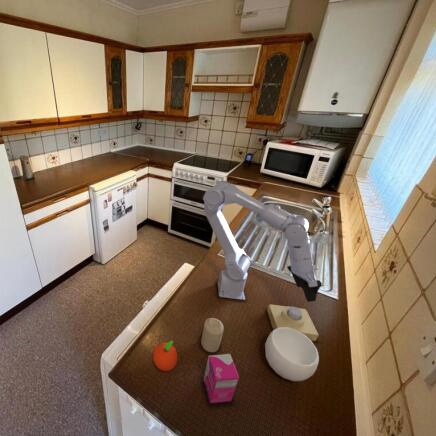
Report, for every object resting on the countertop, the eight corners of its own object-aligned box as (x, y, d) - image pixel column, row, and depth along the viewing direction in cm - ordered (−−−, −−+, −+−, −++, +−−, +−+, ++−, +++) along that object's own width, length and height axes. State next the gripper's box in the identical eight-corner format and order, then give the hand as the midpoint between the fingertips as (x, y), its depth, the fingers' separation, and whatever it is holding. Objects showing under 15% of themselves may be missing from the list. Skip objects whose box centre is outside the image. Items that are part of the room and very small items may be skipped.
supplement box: (202, 379, 65) (208, 354, 59) (223, 377, 65) (231, 352, 60) (209, 404, 60) (216, 379, 54) (231, 402, 60) (241, 377, 54)
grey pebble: (289, 319, 77) (291, 314, 76) (286, 310, 80) (287, 305, 79) (301, 320, 76) (303, 316, 75) (297, 311, 79) (299, 307, 78)
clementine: (162, 344, 73) (163, 329, 70) (182, 357, 70) (184, 342, 66) (147, 366, 67) (148, 351, 64) (168, 381, 64) (170, 366, 61)
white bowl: (308, 400, 61) (321, 379, 56) (256, 372, 66) (265, 352, 62) (309, 359, 70) (321, 338, 65) (264, 338, 76) (272, 318, 71)
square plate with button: (275, 334, 77) (279, 324, 74) (266, 309, 85) (270, 300, 83) (315, 341, 75) (321, 330, 73) (302, 315, 84) (307, 305, 81)
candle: (219, 338, 75) (225, 317, 70) (218, 355, 71) (224, 333, 66) (202, 333, 77) (206, 312, 72) (199, 349, 72) (204, 327, 67)
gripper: (327, 264, 65) (332, 306, 68) (304, 243, 78) (309, 278, 82) (298, 269, 67) (304, 309, 70) (281, 247, 80) (287, 281, 83)
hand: (305, 293), depth 76 cm, fingers open, 7 cm apart
